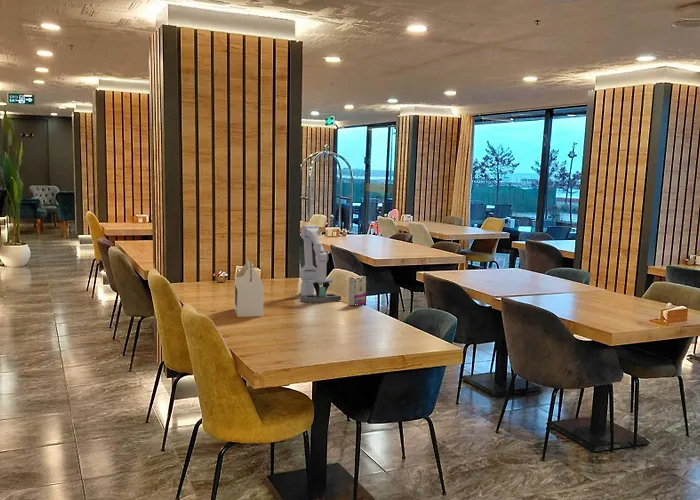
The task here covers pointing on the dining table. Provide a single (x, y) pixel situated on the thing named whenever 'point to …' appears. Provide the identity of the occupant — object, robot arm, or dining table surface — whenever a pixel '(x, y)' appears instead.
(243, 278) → the gable box
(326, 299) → the rail
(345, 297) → the dining table surface
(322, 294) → the square peg
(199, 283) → the dining table surface
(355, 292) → the candy bar box
